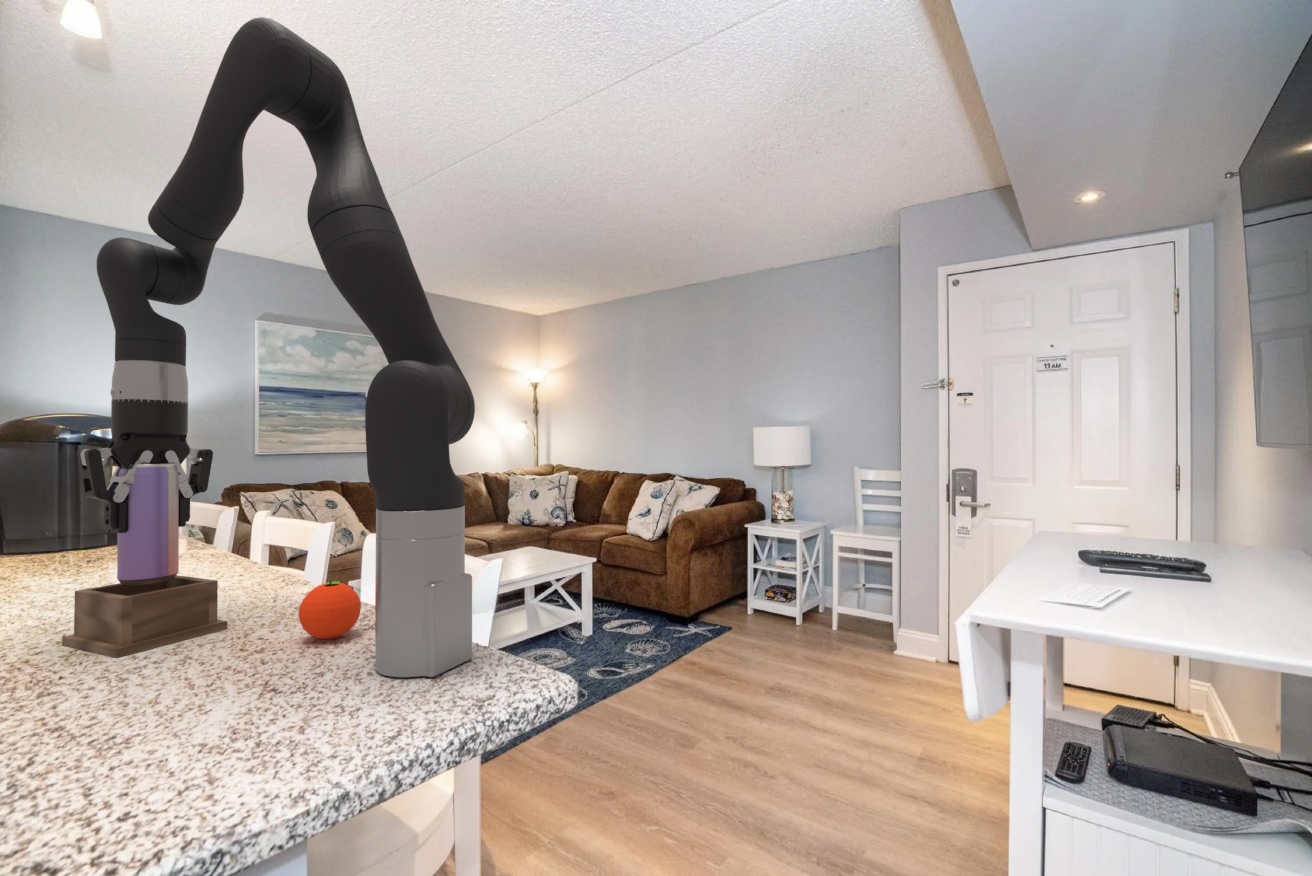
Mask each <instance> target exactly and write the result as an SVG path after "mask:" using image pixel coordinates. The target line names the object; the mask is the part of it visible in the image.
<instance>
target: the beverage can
mask: <svg viewBox="0 0 1312 876" xmlns="http://www.w3.org/2000/svg"><path fill="white" fill-rule="evenodd" d="M132 465H133V464H131V465H130V466H132ZM176 465H177V464H176V463H174V464H137V469H136V471H135V473H134V484H133V485H130V486H129V493H128V494H127V496H126V498H125V500H124V501H123V503H126V531H125V533H117V544H116V545H117V546H116V547H117V557H116V558H117V561H116V562H117V563H116V564H117V565H116V566H117V569H116V570H117V573H116V576H117V578H116V579H117V580H118V582H119V583H121V584H123V585H143V584H152V583H159V582H164V581H168V580H171V579H174V578H175V577H176V575H178V574H179V571H180V570H179V568H180V567H179V562H180V561H179V560H180V559H179V557H180V556H179V552H180V550H179V547H180V546H179V545H180V543H179V542H180V540H179V539H180V538H179V537H180V535H179V534H180V533H179V532H180V530H179V529H180V527H179V471H178V469H177V467H176ZM129 469H130V468H129ZM129 469H120V470H119V473H118V477H124V476H125V475H126V474H127V473H128V471H129Z"/></svg>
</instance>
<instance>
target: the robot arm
mask: <svg viewBox="0 0 1312 876" xmlns="http://www.w3.org/2000/svg"><path fill="white" fill-rule="evenodd" d="M263 111H265V112H266V113H267V112H268V113H269V114H271V115H272V116H274V117H276V118H279V119H280V120H283V121H285V122H287V123H289V124H290V125H292V126H293V127H294V128H296V129H297V131H298V132H299V134H300V136H301V137H302V138H303V141H305V144H306V147H307V148H308V150H309V153H310V155H311V158H312V161H313V162H314V167H315V172H316V177H315V180H314V183H313V186H312V189H311V191H310V194H309V195H310V196H309V198H308V202H307V214H306V215H307V224H308V227H309V231H310V233H311V237H312V239H313V241H314V244H315V246H316V249H317V251H318V254H319V257H320V259H321V261H322V264H323V265H324V268H325V270H326V272H327V274H328V276H329V278H330V280H331V281H332V283H333V285H334V286H335V288H336V289H337V290H338V292H339V293H340V295H341V296H342V298H343V299H345V301H346V302H347V304H348V305H349V306H350V307H351V309H352V310H353V311H354V312H355V314H356V315H357V316H358V317H359V319H360V320H361V321H362V323H364V325H365V326H366V328H367V329H368V330H369V331H370V333H371V334H372V335H373V337H374V338H375V340H376V341H377V342H378V344H379V346H380V348H381V350H382V352H383V354H384V356H385V359H386V361H387V365H385V366H383V367H382V368H381V369H380V370H379V371H377V373H376V375H375V376H374V377H373V379H372V381H371V382H370V385H369V386H368V390H367V394H366V399H365V409H364V411H365V412H364V421H365V422H364V427H365V444H366V445H365V446H366V447H365V448H366V449H365V451H366V464H367V465H366V467H367V469H366V470H367V476H368V480H369V483H370V486H371V489H372V490H373V492H374V498H375V508H376V509H375V596H374V597H375V602H374V603H375V604H374V605H375V610H374V611H375V612H374V613H375V618H374V619H375V620H374V621H375V623H374V625H375V631H374V632H375V633H374V634H375V641H374V642H375V646H374V647H375V656H374V661H375V663H374V664H375V665H374V666H375V667H374V668H375V670H376V672H377V673H378V674H380V675H382V676H387V677H391V678H414V677H415V678H416V677H428V678H435V677H436V676H439V675H440V674H442V673H445V672H447V671H448V670H450V669H453V668H455V667H458V666H459V665H461V664H464V663H465V662H468V661H469V660H472V658H473V576H472V574H470V573H467V572H466V571H465V570H466V569H465V568H466V566H465V565H466V558H465V557H466V555H465V554H466V553H465V552H466V546H465V545H466V544H465V543H466V538H465V535H466V532H465V531H466V521H465V520H466V511H465V510H466V506H465V504H466V491H465V484H464V482H463V480H462V479H461V478H459V477H458V476H457V474H456V473H455V471H454V469H453V468H452V464H451V458H450V455H451V454H450V445H453V444H455V443H457V442H459V441H461V440H462V439H463V438H465V437H466V435H467V434H468V433H469V431H470V430H471V427H472V425H473V422H474V420H475V414H476V409H475V408H476V404H475V403H476V402H475V398H474V394H473V392H472V388H471V386H470V385H469V382H468V381H467V379H466V377H465V375H464V373H463V370H462V369H461V368H460V366H459V364H458V362H457V360H456V359H455V356H454V355H453V352H451V350H450V347H449V346H448V344H447V342H446V340H445V338H444V336H443V334H442V333H441V331H440V328H439V326H438V324H437V321H436V320H435V317H434V313H433V312H432V308H431V306H430V303H429V301H428V298H427V296H426V293H425V290H424V288H423V285H422V283H421V281H420V278H419V276H418V274H417V273H418V272H417V271H416V268H415V265H414V263H413V260H412V257H411V255H410V252H409V250H408V249H409V248H408V246H407V244H406V241H405V239H404V238H405V237H403V234H402V232H401V229H400V227H399V224H398V221H397V220H396V217H395V214H394V212H393V210H392V208H391V206H390V204H389V202H388V200H387V198H386V195H385V192H384V190H383V187H382V185H381V182H380V179H379V177H378V174H377V171H376V169H375V165H374V164H373V161H372V159H371V157H370V154H369V151H368V148H367V146H366V143H365V140H364V136H363V133H362V129H361V126H360V122H359V119H358V114H357V110H356V108H355V104H354V100H353V97H352V94H351V91H350V88H349V85H348V82H347V80H346V78H345V75H344V74H343V72H342V71H341V69H340V68H339V66H338V65H337V64H336V63H335V62H334V61H333V60H332V58H330V57H329V56H328V55H327V54H325V53H324V52H322V51H321V50H319V49H318V48H316V47H315V46H314V45H313V44H311V43H310V42H308V41H306V40H305V39H303V37H301V36H299V35H298V34H297V33H295V32H294V31H292V30H291V29H289V28H288V27H286V26H285V25H283V23H282V24H281V23H280V22H278V21H276V20H275V19H273V18H267V17H262V16H261V17H254V18H251V19H250V20H248V21H246V22H244V24H242V25H241V27H240V28H239V29H238V30H237V31H236V33H235V34H234V36H233V37H232V38H231V41H230V42H229V44H228V46H227V48H226V50H225V52H224V54H223V56H222V59H221V61H220V64H219V66H218V69H217V71H216V74H215V77H214V79H213V82H212V85H211V88H210V89H209V92H208V95H207V97H206V100H205V103H204V105H203V108H202V111H201V113H200V116H199V118H198V121H197V125H196V127H195V130H194V133H193V135H192V138H191V141H190V142H189V145H188V148H187V149H186V152H185V154H184V157H183V158H182V160H181V162H180V164H179V165H178V167H177V168H176V171H175V172H174V174H173V175H172V176H171V178H170V179H169V181H168V182H167V184H166V185H165V187H164V189H163V190H162V192H161V193H160V194H159V196H158V198H157V199H156V200H155V202H154V204H153V205H152V207H151V209H150V210H149V213H148V215H147V222H148V225H149V227H150V228H151V230H152V231H153V233H155V234H156V235H157V236H158V237H159V238H161V239H162V240H163V241H164V242H166V243H167V244H170V245H172V246H173V247H174V248H172V249H169V248H164V247H161V246H158V245H154V244H151V243H149V242H148V243H147V242H144V241H141V240H136V239H134V238H129V237H123V236H121V237H114V238H112V239H110V240H108V241H106V242H105V243H104V244H103V245H102V247H101V248H100V249H99V252H98V254H97V257H96V273H97V276H98V282H99V283H100V287H101V290H102V293H103V296H104V297H105V301H106V303H107V307H108V310H109V311H108V312H109V314H110V317H111V320H112V324H113V328H114V339H115V340H114V365H113V371H112V377H111V388H110V396H111V405H110V406H111V411H110V414H111V415H110V420H111V421H110V422H111V423H110V427H111V428H110V432H111V433H110V434H111V441H110V442H109V445H108V446H107V447H102V448H81V449H79V450H78V451H77V453H76V456H77V462H78V463H77V464H78V468H79V473H80V474H79V475H80V481H81V486H82V491H83V493H82V494H83V495H84V497H86V498H88V499H89V498H90V499H93V500H99V501H101V502H102V503H103V506H104V509H103V510H104V511H103V513H104V514H103V515H104V516H103V526H104V528H105V529H108V530H109V532H110V533H111V534H118V533H125V531H126V503H123V501H124V500H125V498H126V496H127V494H128V493H129V486H130V485H133V484H134V473H135V471H136V469H137V464H174V463H176V464H177V465H176V467H177V469H178V471H179V528H182V527H185V526H187V525H186V524H187V522H188V523H189V521H190V519H191V500H192V497H193V496H195V495H198V494H200V493H206V492H207V490H208V488H209V487H208V486H209V481H210V476H211V469H212V463H213V458H214V457H213V456H214V451H213V450H212V449H209V448H192V447H190V445H189V444H188V442H187V435H188V431H189V430H188V429H189V428H188V427H189V421H188V420H189V381H188V379H189V378H188V375H187V366H186V365H187V333H186V330H185V328H184V326H183V325H181V323H179V322H178V321H174V320H172V319H169V318H167V317H165V316H163V315H161V314H159V313H157V312H156V311H155V310H154V308H153V307H152V305H151V303H150V301H153V302H158V303H164V304H168V305H173V306H182V305H183V306H184V305H186V304H189V303H191V302H193V301H195V300H196V299H197V298H198V297H200V295H202V292H203V290H204V287H205V284H206V279H207V275H208V274H207V273H208V270H209V266H210V263H211V260H212V256H213V252H214V249H215V247H216V244H217V242H218V241H219V239H220V238H221V237H222V236H223V234H224V233H225V232H226V230H227V229H228V227H229V226H230V224H231V223H232V221H233V220H234V219H235V217H236V215H237V213H238V212H239V210H240V208H241V206H242V203H243V200H244V193H245V192H244V191H245V181H244V176H245V175H244V164H243V159H244V158H243V152H244V150H243V149H244V142H245V138H246V136H247V133H248V131H249V129H250V127H251V126H252V124H253V123H254V121H255V120H256V119H257V118H258V117H259V116H260V114H261V113H262V112H263ZM108 458H110V459H111V460H112V461H113V462H114V464H115V465H116V466H117V467H116V469H115V471H114V472H113V474H112V476H111V477H110V479H109V484H108V486H107V484H106V478H105V477H106V476H105V472H104V466H106V465H107V463H108ZM187 458H188V463H190V469H189V475H188V476H187V474H186V472H185V471H184V468H183V467H182V463H183V462H184V461H185V460H186V459H187ZM131 464H133V465H132V466H130V465H131ZM129 468H130V469H129ZM120 469H129V471H128V473H127V474H126V475H125V476H124V477H118V473H119V470H120Z"/></svg>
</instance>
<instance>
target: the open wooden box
mask: <svg viewBox="0 0 1312 876" xmlns="http://www.w3.org/2000/svg"><path fill="white" fill-rule="evenodd" d="M218 581H219V580H215V579H208V578H200V577H199V578H198V577H192V576H187V575H186V576H184V575H178V574H177V575H176V577H175V578H174V579H171V580H168V581H164V582H159V583H152V584H143V585H123V584H121V583H120V582H119V583H114V584H110V585H109V584H107V585H102V586H96V587H90V588H85V589H78V590H74V608H73V609H74V612H73V613H74V619H73V620H74V621H73V623H74V625H73V634H68V635H66V636H62V637H61V640H62V641H61V646H65V647H69V648H73V649H78V650H81V651H85V652H90V653H93V654H97V655H102V656H103V655H104V656H108V657H112V658H116V659H117V658H118V659H119V658H121V657H125V656H129V655H134V654H137V653H140V652H144V651H147V650H152V649H155V648H159V647H160V648H161V647H163V646H167V645H171V644H175V643H178V642H182V641H186V640H189V639H194V638H198V637H200V636H205V635H209V634H213V633H215V632H216V633H217V632H221V631H225V630H227V629H228V620H222V619H218V600H219V599H218V593H219V591H218V588H219V587H218V586H219V585H218V584H219V583H218Z"/></svg>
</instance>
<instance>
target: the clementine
mask: <svg viewBox="0 0 1312 876" xmlns="http://www.w3.org/2000/svg"><path fill="white" fill-rule="evenodd" d="M298 609H299V610H298V619H299V622H300V624H301V627H302V629H303V631H305V632H306V633H307V634H308V635H310V636H311V637H313V638H316V639H321V640H331V639H336V638H338V637H340V636H342V635H343V636H344V635H345V634H346V633H347V632H349V631H350V630H351V629H353V627H354V626H355V625H356V624H357V622H358V620H359V618H360V615H361V610H362V605H361V599H360V597H359V595H358V593H357V592H356V591H355V590H354V589H353V588H352V587H351V586H350V585H348V584H346V583H342V581H339V580H338V581H327V582H326V583H322V584H319V585H316V587H314V588H312V589H311V590H310V591H309V592H308V593H306V595H305V596H304V597H303V599H302V601H301V603H300V606H299V608H298Z"/></svg>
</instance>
